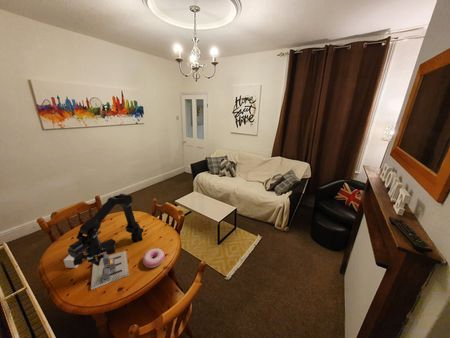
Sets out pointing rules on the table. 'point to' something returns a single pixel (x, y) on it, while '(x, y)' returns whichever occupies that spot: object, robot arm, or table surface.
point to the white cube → (69, 262)
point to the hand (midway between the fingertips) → (98, 265)
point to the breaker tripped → (111, 263)
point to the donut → (151, 261)
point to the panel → (110, 270)
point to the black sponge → (105, 243)
